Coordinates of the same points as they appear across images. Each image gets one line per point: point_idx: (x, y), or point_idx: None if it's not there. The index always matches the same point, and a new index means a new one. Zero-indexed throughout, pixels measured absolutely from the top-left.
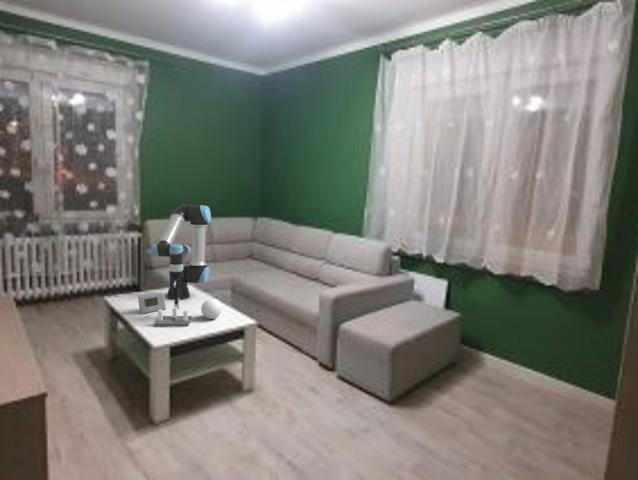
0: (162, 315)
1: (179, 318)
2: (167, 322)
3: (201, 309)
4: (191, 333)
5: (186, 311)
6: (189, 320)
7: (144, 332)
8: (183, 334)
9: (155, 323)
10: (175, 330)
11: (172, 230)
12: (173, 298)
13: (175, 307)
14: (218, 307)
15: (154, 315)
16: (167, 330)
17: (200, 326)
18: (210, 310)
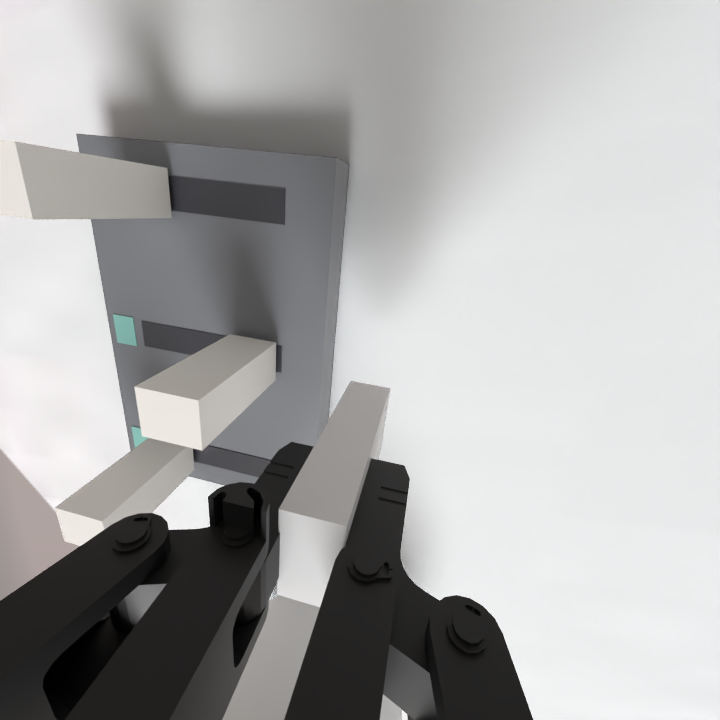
0: (120, 218)
1: None
2: (121, 283)
3: (270, 645)
4: (42, 453)
5: (66, 534)
6: (208, 476)
7: None
8: (14, 404)
9: (80, 138)
10: (66, 350)
11: None
12: (128, 516)
13: (178, 431)
14: None
15: (537, 29)
16: (52, 284)
17: (166, 519)
18: None
